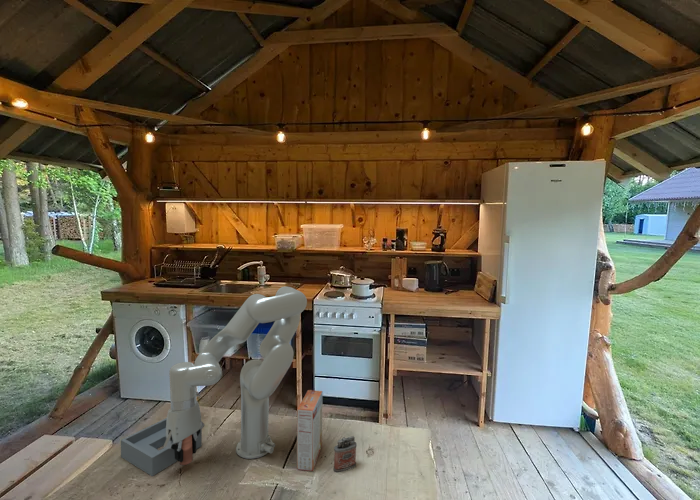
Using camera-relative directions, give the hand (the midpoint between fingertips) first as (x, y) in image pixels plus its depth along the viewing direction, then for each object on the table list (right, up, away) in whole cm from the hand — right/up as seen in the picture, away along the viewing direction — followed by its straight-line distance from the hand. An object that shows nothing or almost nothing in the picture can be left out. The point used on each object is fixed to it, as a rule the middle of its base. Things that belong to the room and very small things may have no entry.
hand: (185, 455), depth 111 cm
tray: (-12, -3, +8) cm, 15 cm away
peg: (0, -2, 0) cm, 2 cm away
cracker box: (+40, -5, +7) cm, 41 cm away
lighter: (+52, -6, +3) cm, 52 cm away
